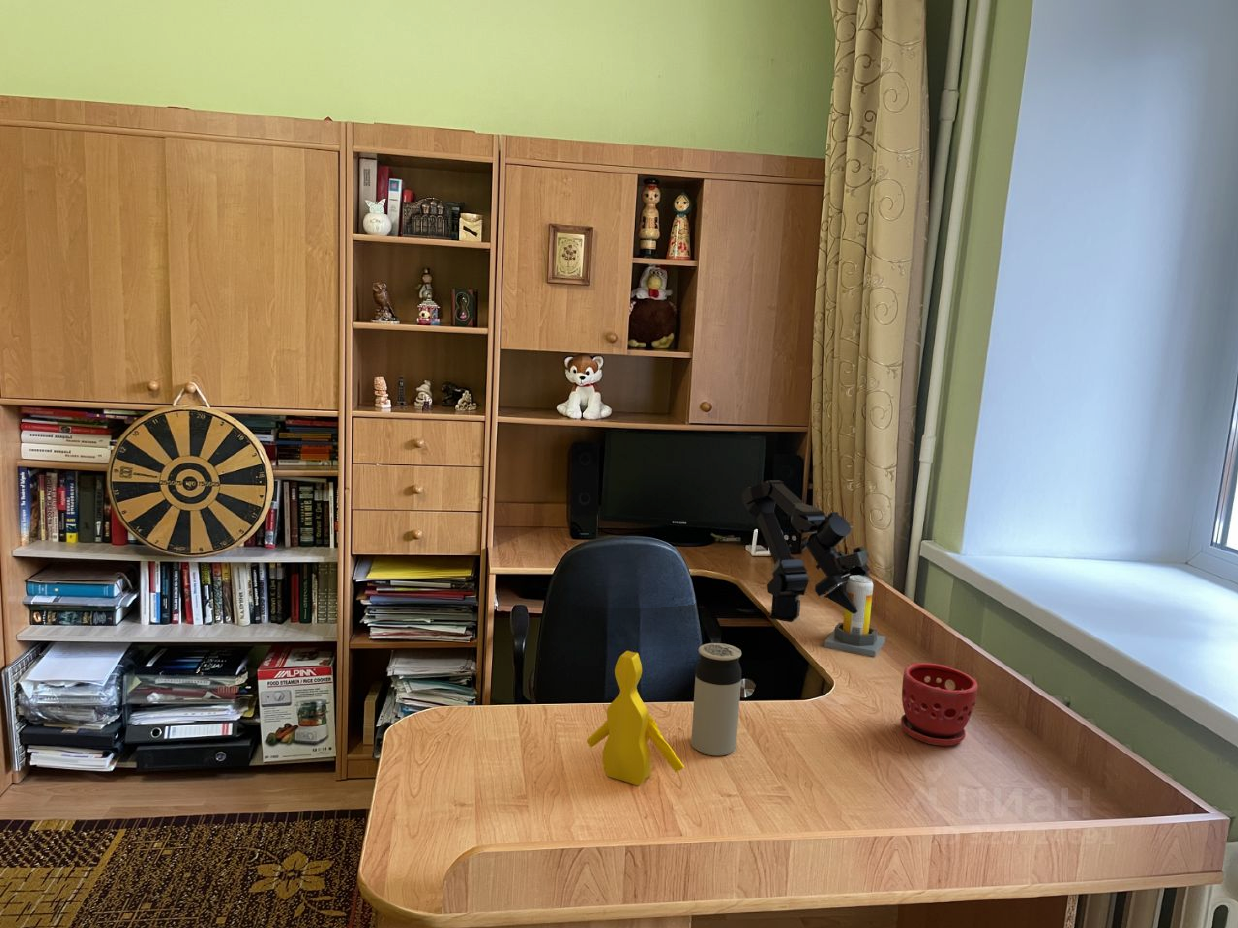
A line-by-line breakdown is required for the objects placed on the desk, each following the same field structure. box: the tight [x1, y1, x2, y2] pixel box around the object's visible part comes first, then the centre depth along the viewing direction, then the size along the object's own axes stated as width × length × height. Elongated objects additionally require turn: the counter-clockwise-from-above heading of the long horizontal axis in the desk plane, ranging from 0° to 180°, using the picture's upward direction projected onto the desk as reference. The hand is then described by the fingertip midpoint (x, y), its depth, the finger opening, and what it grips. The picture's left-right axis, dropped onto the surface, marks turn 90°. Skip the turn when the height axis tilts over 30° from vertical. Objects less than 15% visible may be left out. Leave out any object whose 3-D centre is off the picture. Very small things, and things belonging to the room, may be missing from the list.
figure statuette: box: [586, 650, 685, 787], centre depth 143 cm, size 18×8×22 cm, turn 63°
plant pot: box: [900, 662, 979, 747], centre depth 165 cm, size 13×13×12 cm
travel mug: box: [690, 642, 742, 757], centre depth 155 cm, size 8×8×18 cm
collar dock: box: [823, 622, 886, 658], centre depth 213 cm, size 12×12×4 cm
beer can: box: [842, 576, 874, 635], centre depth 212 cm, size 6×6×15 cm
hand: (863, 609), depth 211 cm, fingers open, 8 cm apart
